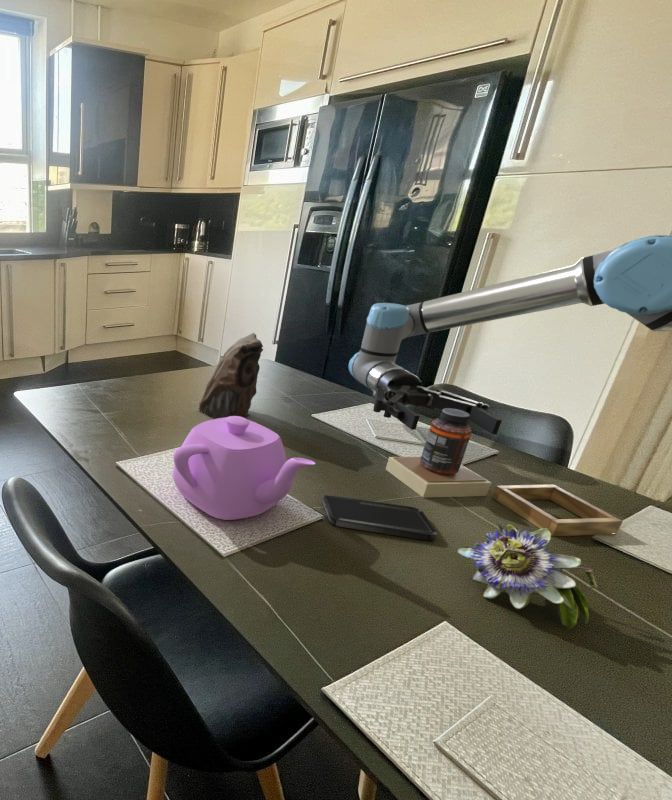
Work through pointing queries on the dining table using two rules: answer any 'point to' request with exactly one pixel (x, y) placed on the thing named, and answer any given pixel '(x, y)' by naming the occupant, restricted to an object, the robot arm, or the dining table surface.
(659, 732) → the dining table surface
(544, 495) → the rectangular wooden frame
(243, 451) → the teapot
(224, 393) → the owl
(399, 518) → the phone
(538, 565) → the passion flower
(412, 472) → the stand
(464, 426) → the supplement bottle
